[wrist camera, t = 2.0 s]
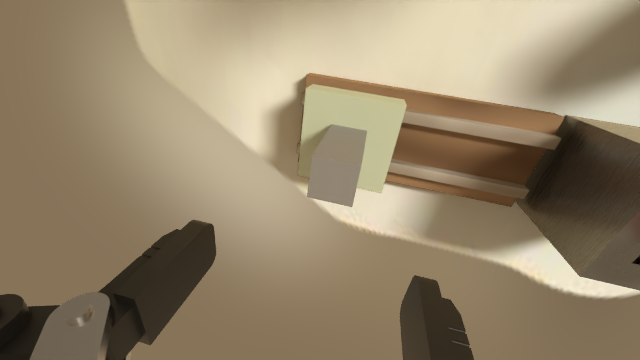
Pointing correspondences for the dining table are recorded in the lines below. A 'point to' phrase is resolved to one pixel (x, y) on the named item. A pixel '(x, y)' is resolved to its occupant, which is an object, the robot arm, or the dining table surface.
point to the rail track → (461, 142)
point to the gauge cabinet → (591, 199)
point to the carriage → (347, 141)
